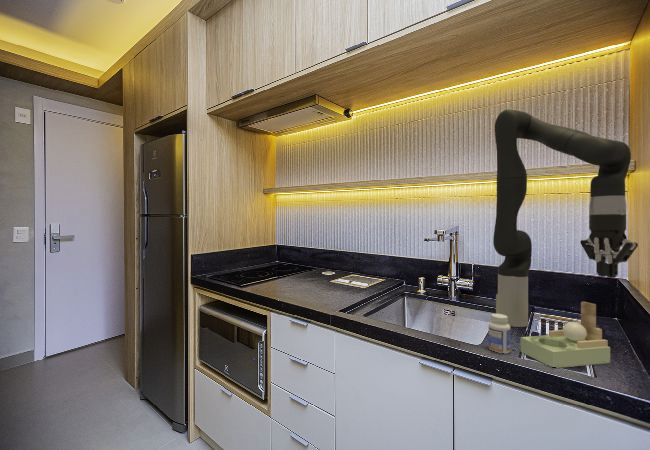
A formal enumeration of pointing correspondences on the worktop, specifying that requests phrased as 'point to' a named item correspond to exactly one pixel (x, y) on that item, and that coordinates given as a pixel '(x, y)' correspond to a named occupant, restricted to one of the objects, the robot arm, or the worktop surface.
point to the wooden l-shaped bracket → (590, 321)
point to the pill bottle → (499, 334)
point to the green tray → (565, 350)
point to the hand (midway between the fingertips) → (607, 276)
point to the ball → (574, 331)
